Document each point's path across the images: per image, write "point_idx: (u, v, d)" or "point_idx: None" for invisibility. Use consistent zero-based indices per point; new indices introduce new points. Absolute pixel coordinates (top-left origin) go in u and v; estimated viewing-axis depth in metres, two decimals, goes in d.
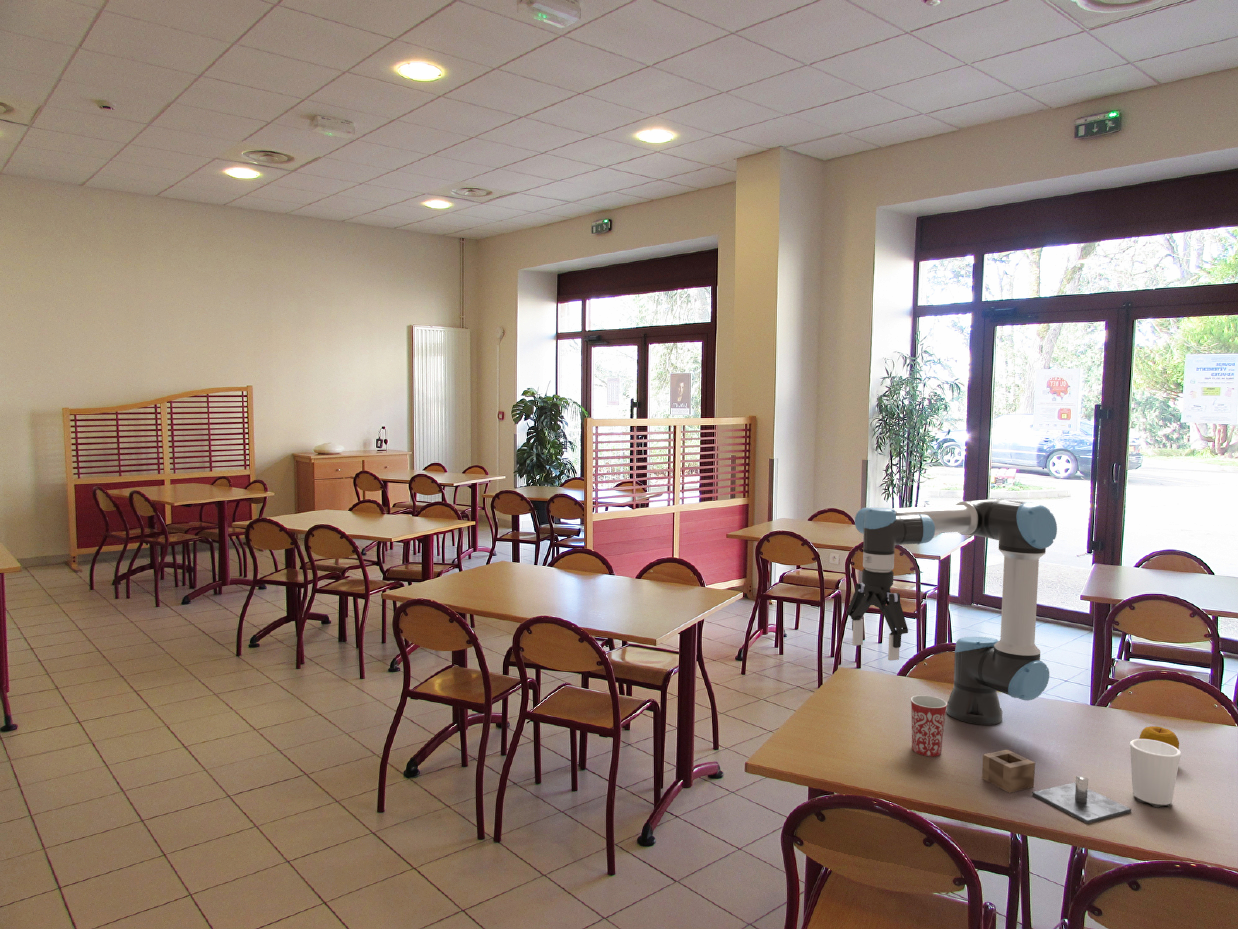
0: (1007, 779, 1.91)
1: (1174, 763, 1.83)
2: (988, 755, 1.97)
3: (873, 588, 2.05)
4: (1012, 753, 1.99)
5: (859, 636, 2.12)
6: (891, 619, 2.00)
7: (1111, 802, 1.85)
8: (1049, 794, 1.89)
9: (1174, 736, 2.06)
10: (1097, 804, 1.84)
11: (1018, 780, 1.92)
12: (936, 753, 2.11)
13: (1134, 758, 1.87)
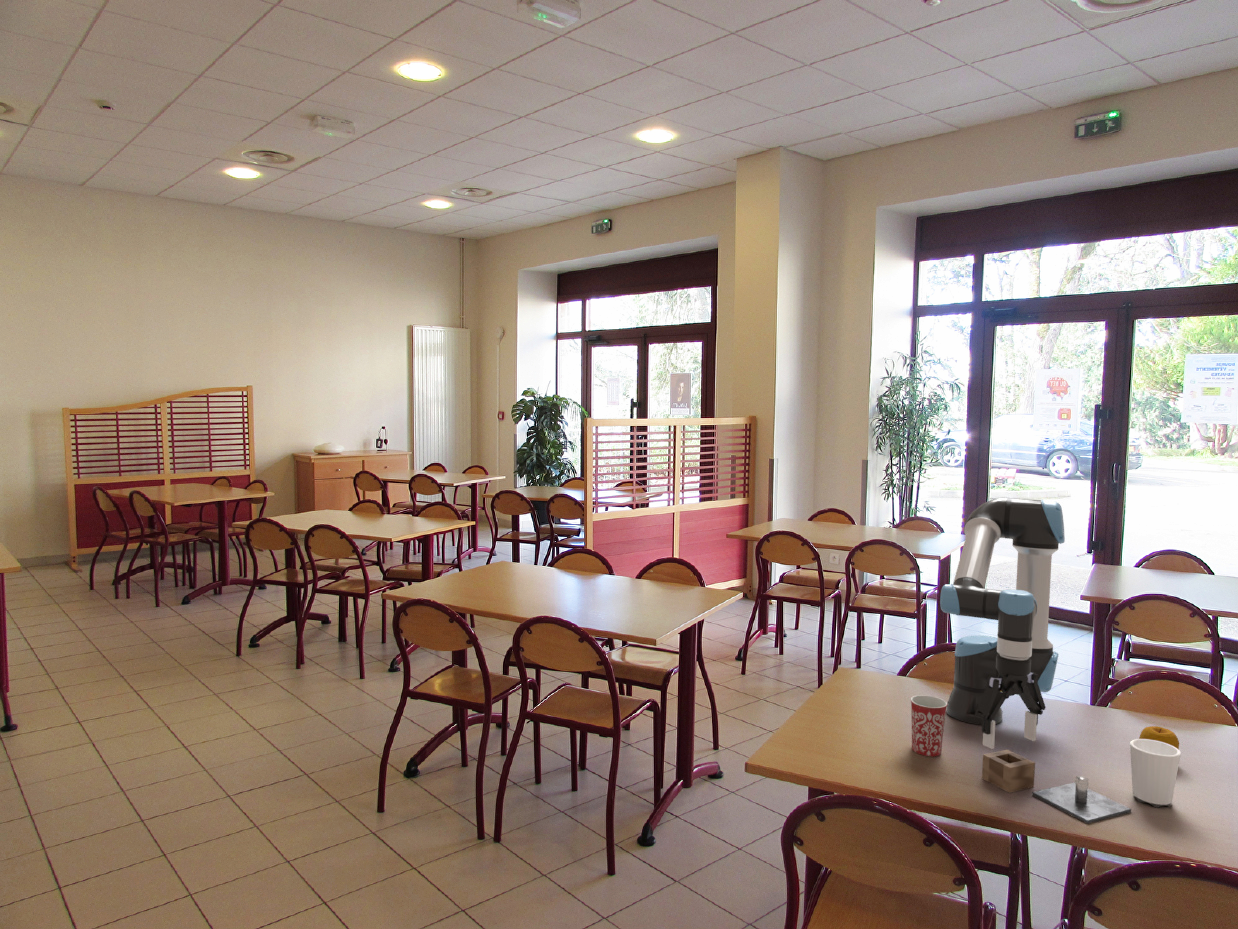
0: (1007, 779, 1.91)
1: (1174, 763, 1.83)
2: (988, 755, 1.97)
3: None
4: (1012, 753, 1.99)
5: (1030, 730, 1.97)
6: None
7: (1111, 802, 1.85)
8: (1049, 794, 1.89)
9: (1174, 736, 2.06)
10: (1097, 804, 1.84)
11: (1018, 780, 1.92)
12: (936, 753, 2.11)
13: (1134, 758, 1.87)
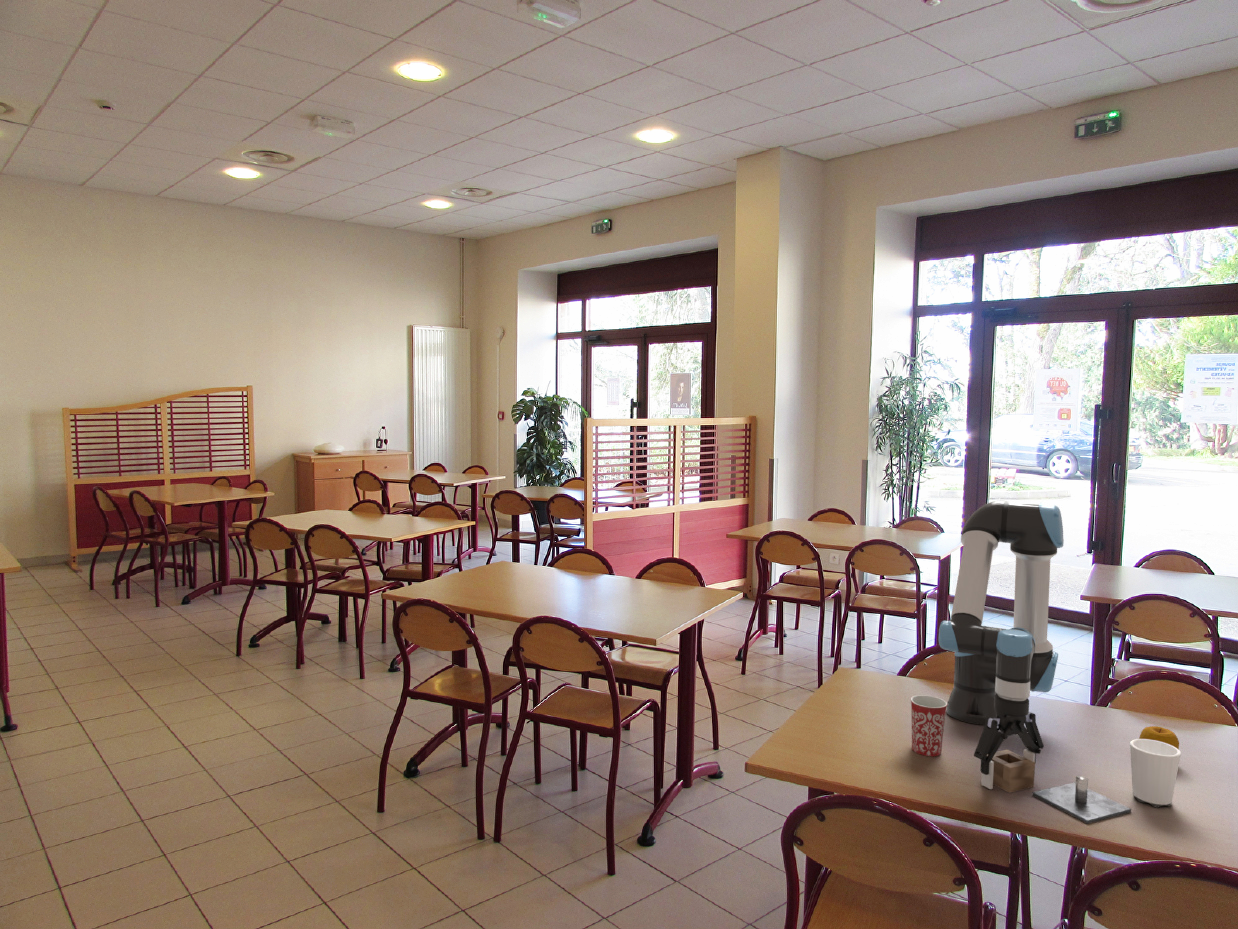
0: (1007, 779, 1.91)
1: (1174, 763, 1.83)
2: None
3: None
4: (1012, 753, 1.99)
5: None
6: None
7: (1111, 802, 1.85)
8: (1049, 794, 1.89)
9: (1174, 736, 2.06)
10: (1097, 804, 1.84)
11: (1018, 780, 1.92)
12: (936, 753, 2.11)
13: (1134, 758, 1.87)
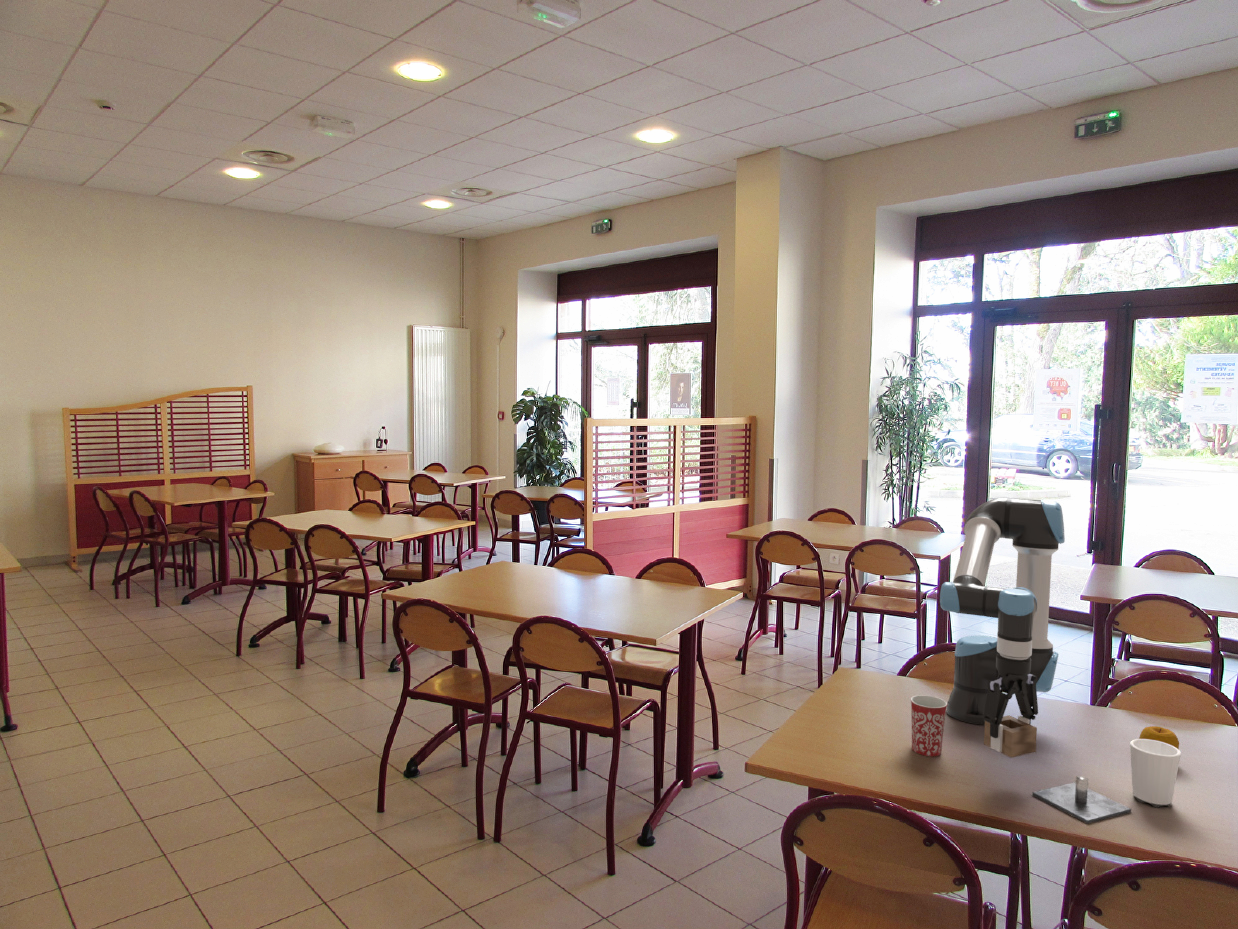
0: (1009, 744, 1.91)
1: (1174, 763, 1.83)
2: None
3: None
4: (1014, 719, 1.98)
5: None
6: None
7: (1111, 802, 1.85)
8: (1049, 794, 1.89)
9: (1174, 736, 2.06)
10: (1097, 804, 1.84)
11: (1020, 745, 1.92)
12: (936, 753, 2.11)
13: (1134, 758, 1.87)
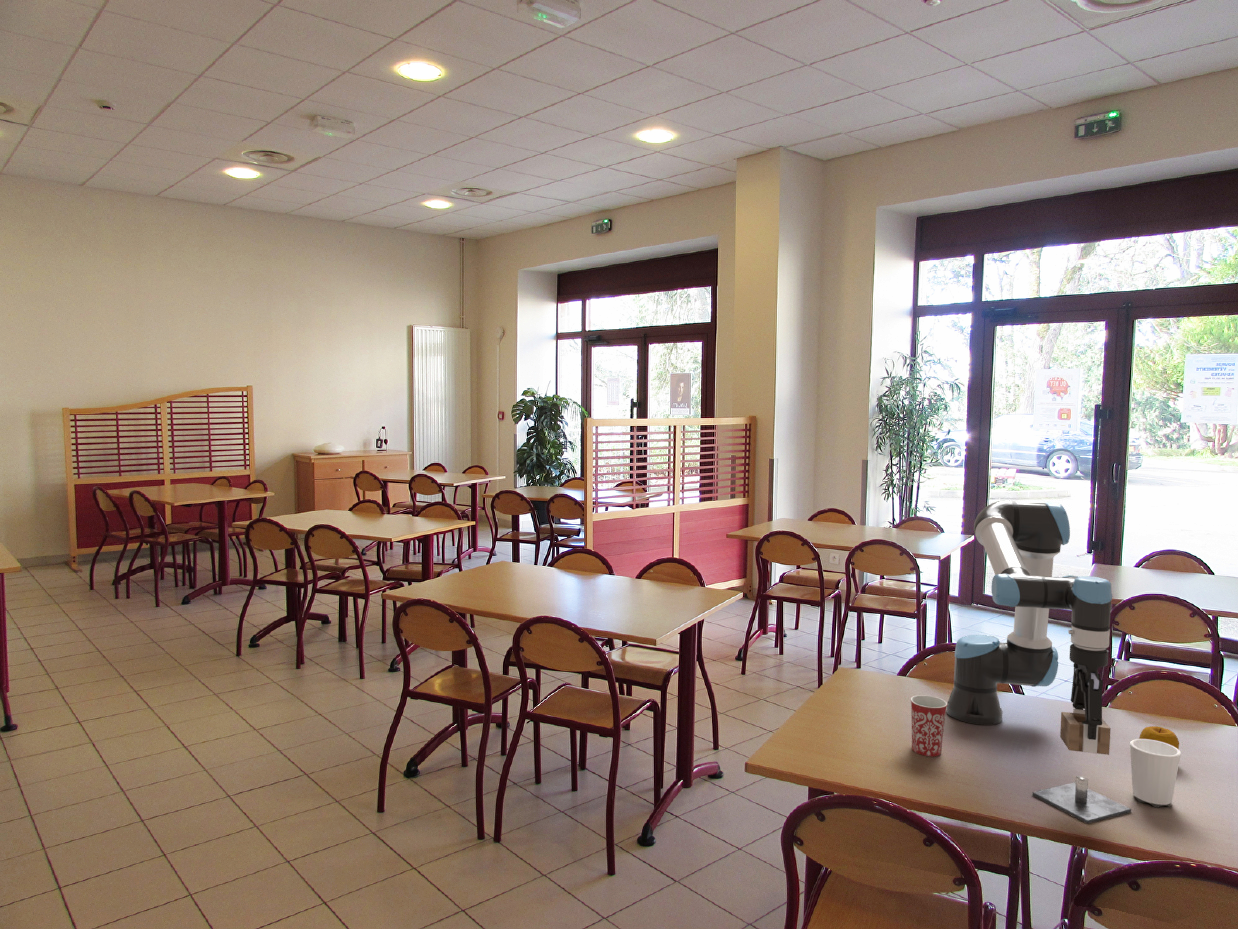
0: (1106, 741, 1.80)
1: (1174, 763, 1.83)
2: (1074, 723, 1.82)
3: (1082, 666, 1.84)
4: (1072, 713, 1.88)
5: None
6: None
7: (1111, 802, 1.85)
8: (1049, 794, 1.89)
9: (1174, 736, 2.06)
10: (1097, 804, 1.84)
11: None
12: (936, 753, 2.11)
13: (1133, 758, 1.87)
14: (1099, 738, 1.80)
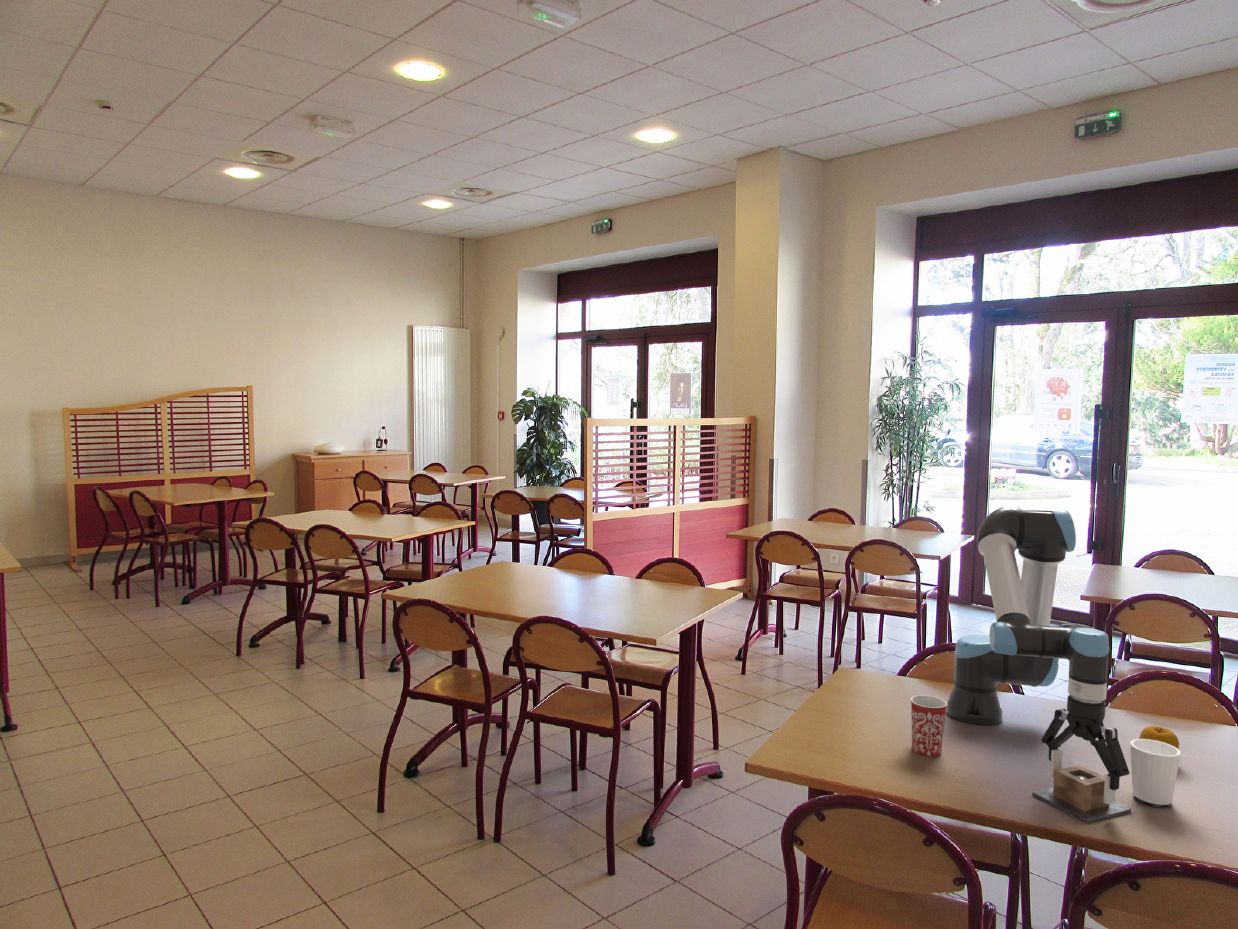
0: None
1: (1174, 763, 1.83)
2: (1086, 783, 1.81)
3: (1081, 719, 1.84)
4: (1063, 770, 1.88)
5: (1058, 767, 1.91)
6: (1107, 758, 1.79)
7: None
8: (1049, 794, 1.89)
9: (1174, 736, 2.06)
10: None
11: None
12: (936, 753, 2.11)
13: (1134, 758, 1.87)
14: (1103, 791, 1.83)
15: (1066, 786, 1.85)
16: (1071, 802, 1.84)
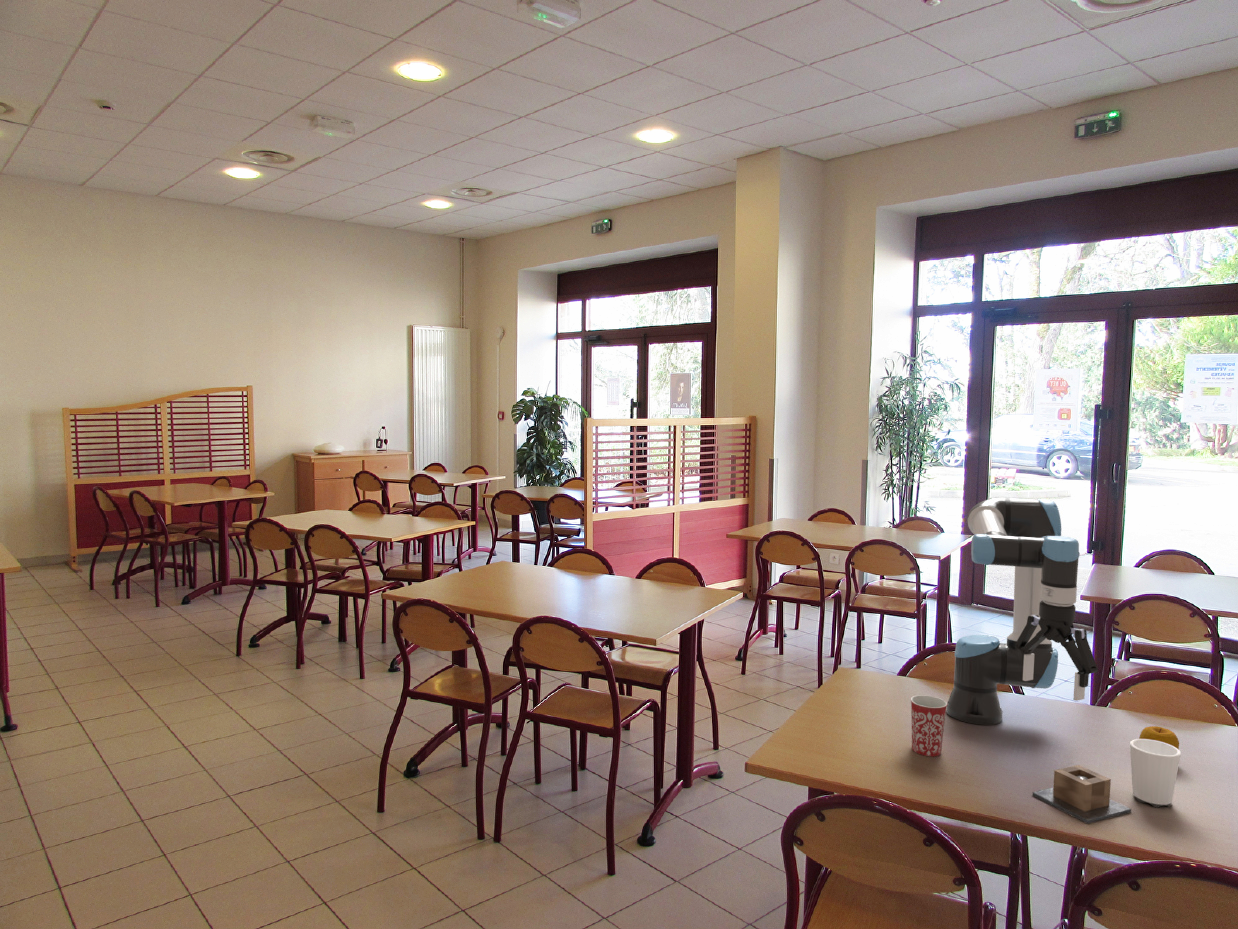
0: (1108, 792, 1.83)
1: (1174, 763, 1.83)
2: (1086, 783, 1.81)
3: (1052, 622, 1.92)
4: (1063, 770, 1.88)
5: (1030, 671, 2.00)
6: (1077, 657, 1.87)
7: (1111, 802, 1.85)
8: (1049, 794, 1.89)
9: (1174, 736, 2.06)
10: None
11: None
12: (936, 753, 2.11)
13: (1133, 758, 1.87)
14: (1103, 791, 1.83)
15: (1066, 786, 1.85)
16: (1071, 802, 1.84)
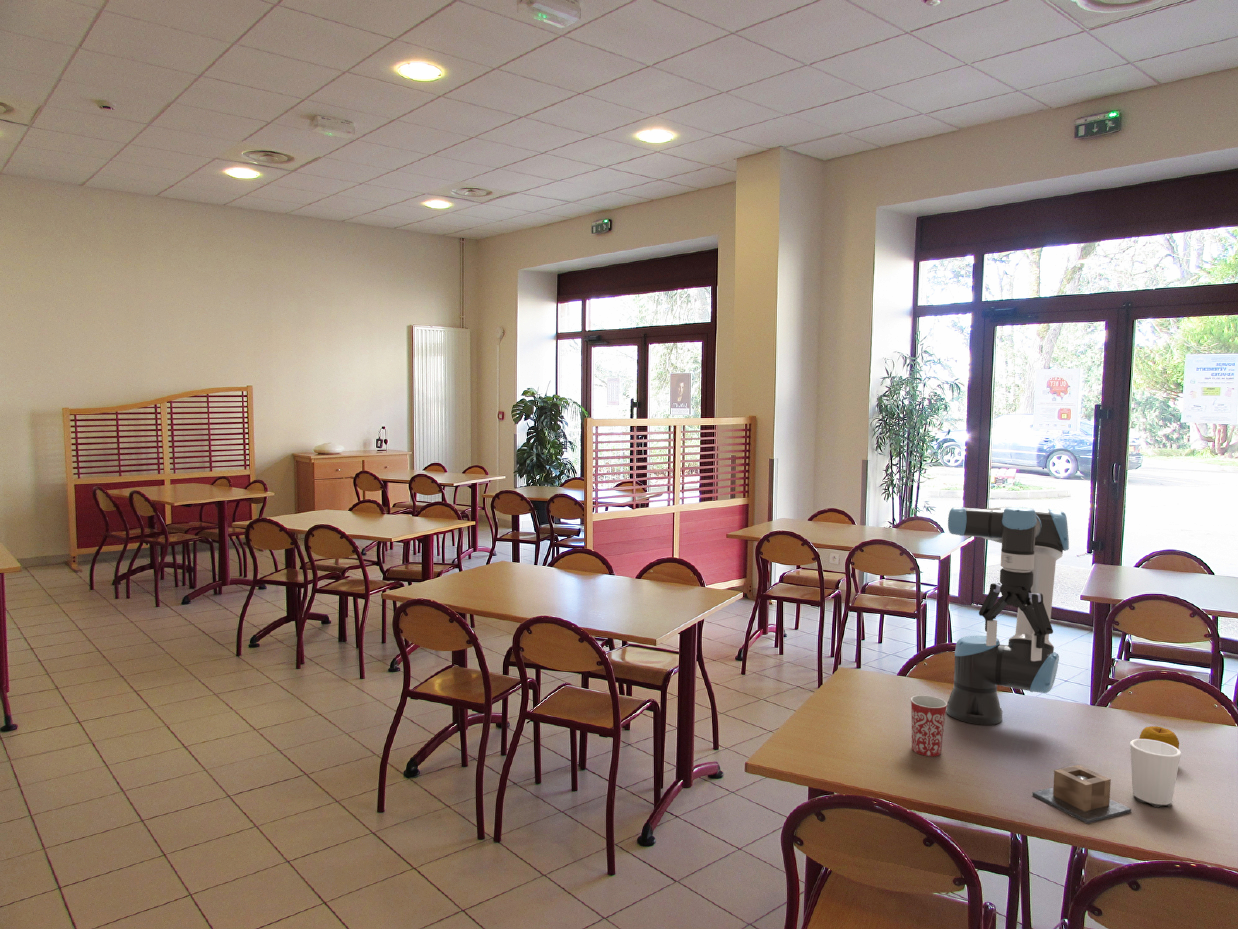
0: (1108, 792, 1.83)
1: (1174, 763, 1.83)
2: (1086, 783, 1.81)
3: (1012, 588, 2.04)
4: (1063, 770, 1.88)
5: (993, 637, 2.11)
6: (1034, 620, 1.98)
7: (1111, 802, 1.85)
8: (1049, 794, 1.89)
9: (1174, 736, 2.06)
10: None
11: None
12: (936, 753, 2.11)
13: (1134, 758, 1.87)
14: (1103, 791, 1.83)
15: (1066, 786, 1.85)
16: (1071, 802, 1.84)
